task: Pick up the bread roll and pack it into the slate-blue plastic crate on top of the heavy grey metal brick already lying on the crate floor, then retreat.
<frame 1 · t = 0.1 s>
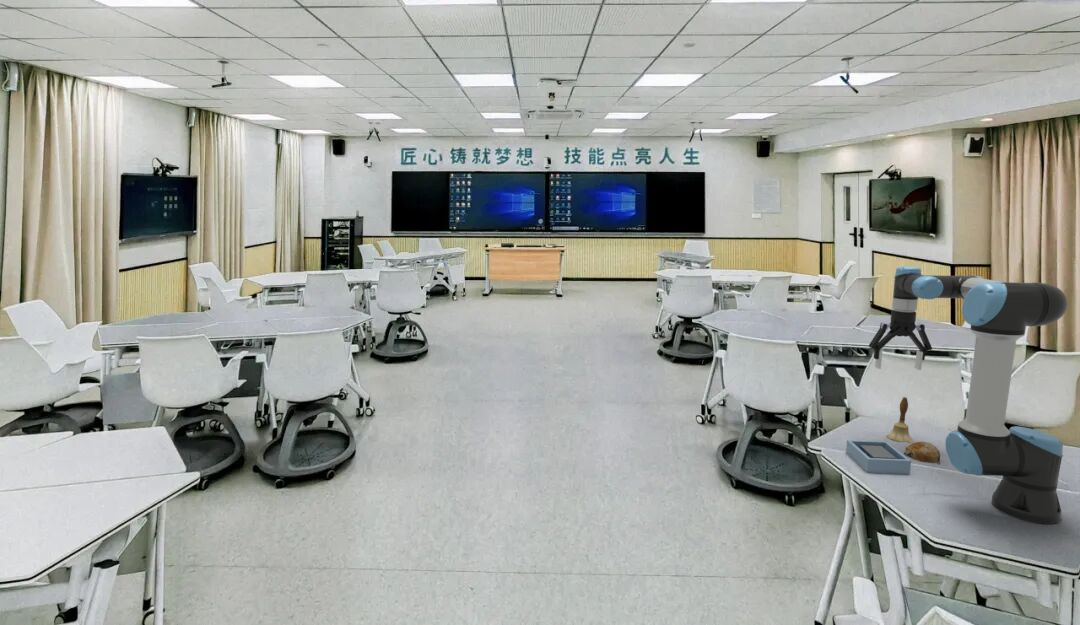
hand: (897, 368, 209), 28 cm above the table, tool pointing down, fingers open, 13 cm apart
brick: (876, 462, 193), point 1 cm above the table, touching crate
crate: (876, 465, 194), on the table
hand bell: (899, 439, 217), on the table
bread roll: (921, 460, 199), on the table
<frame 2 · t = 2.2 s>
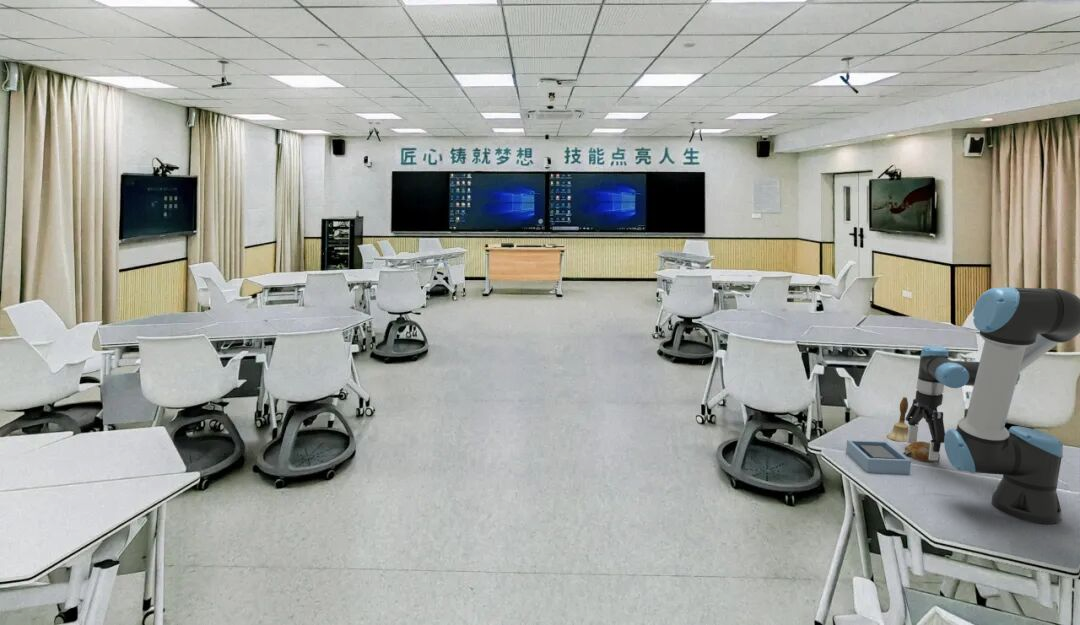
hand: (922, 451, 199), 3 cm above the table, tool pointing down, fingers open, 13 cm apart
nothing on the table moved.
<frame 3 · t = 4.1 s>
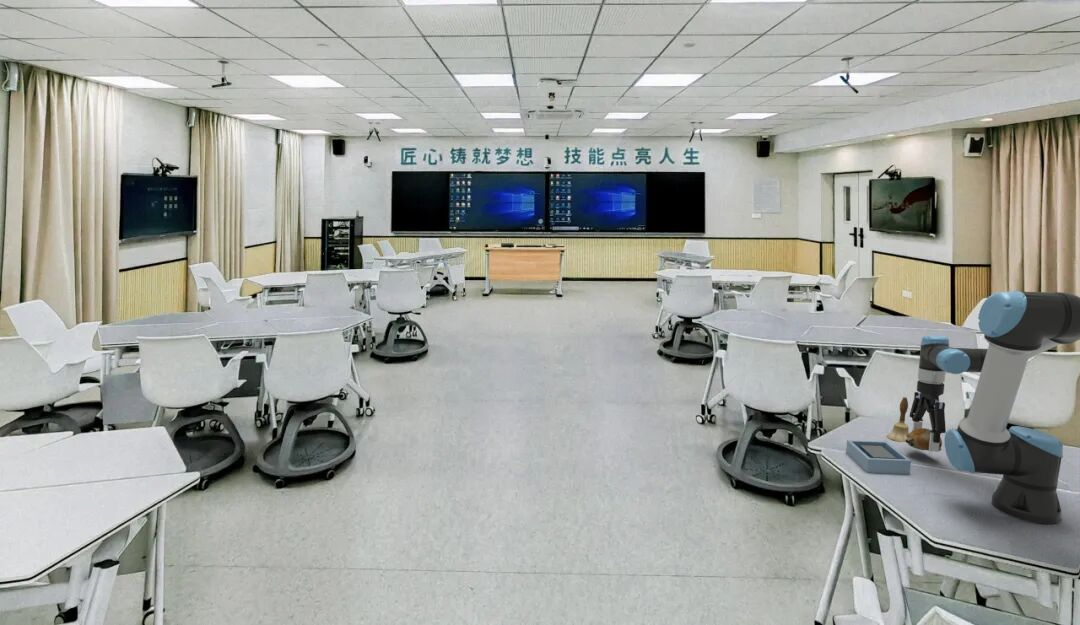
hand: (924, 445, 197), 5 cm above the table, tool pointing down, fingers closed on bread roll, 10 cm apart
bread roll: (923, 447, 197), point 5 cm above the table, touching gripper
everything else where it was.
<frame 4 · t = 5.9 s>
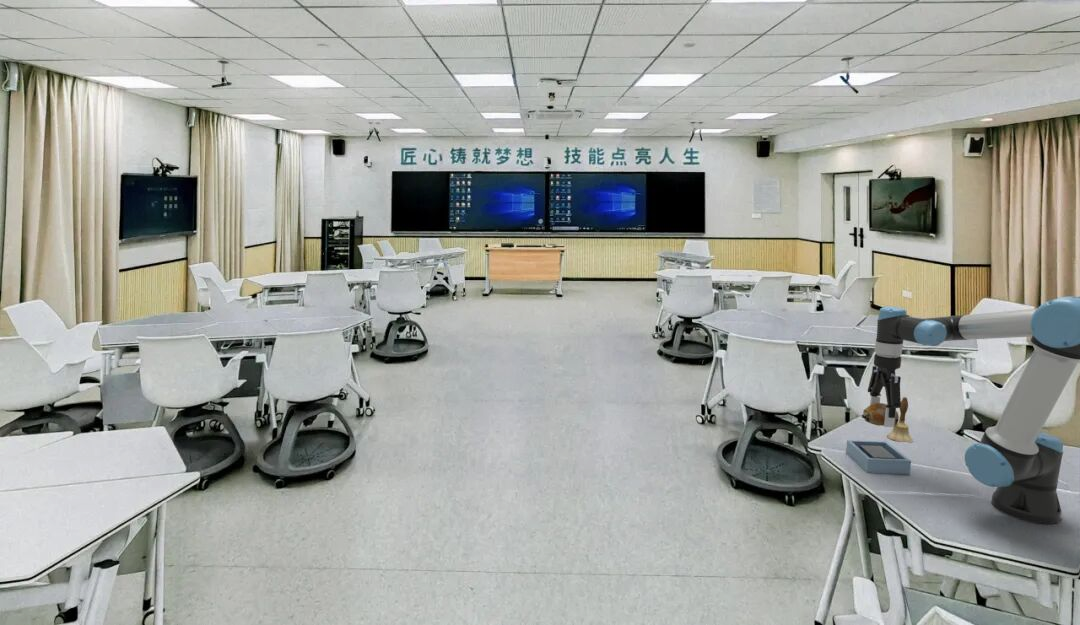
hand: (881, 420, 191), 16 cm above the table, tool pointing down, fingers closed on bread roll, 10 cm apart
bread roll: (879, 422, 191), point 15 cm above the table, touching gripper
everything else where it was.
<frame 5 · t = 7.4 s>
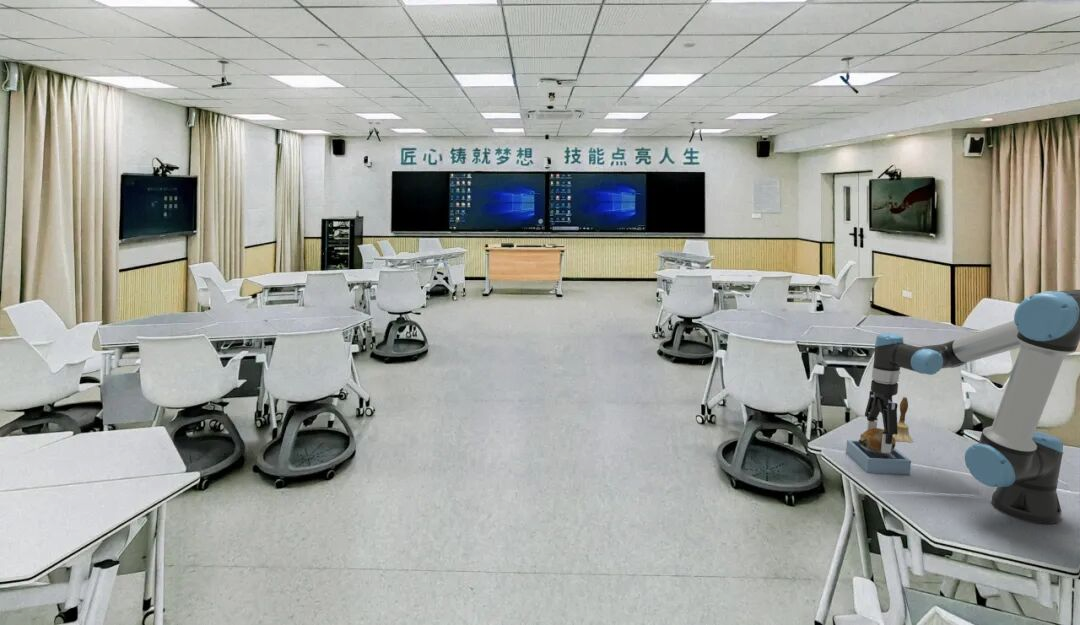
hand: (878, 445, 192), 7 cm above the table, tool pointing down, fingers closed on bread roll, 10 cm apart
bread roll: (876, 447, 193), point 6 cm above the table, touching gripper
everything else where it was.
when the fingers open (6 cm above the table, at t = 8.1 s): bread roll stays where it is, resting on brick.
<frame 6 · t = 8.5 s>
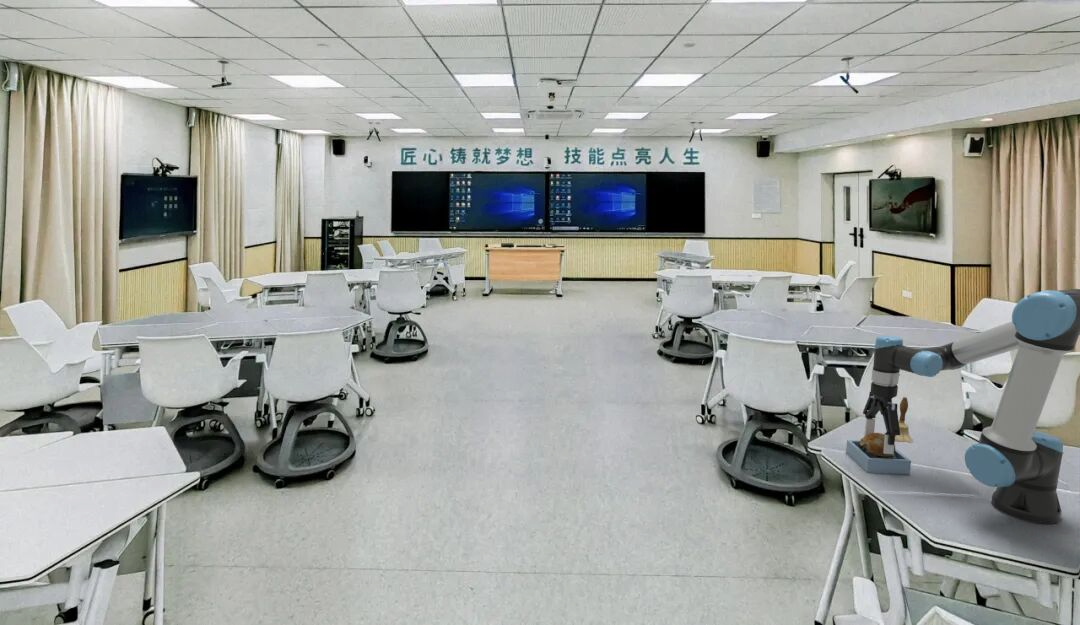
hand: (878, 445, 192), 7 cm above the table, tool pointing down, fingers open, 13 cm apart
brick: (876, 462, 193), point 1 cm above the table, touching bread roll, crate
bread roll: (876, 452, 193), point 5 cm above the table, touching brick
everything else where it was.
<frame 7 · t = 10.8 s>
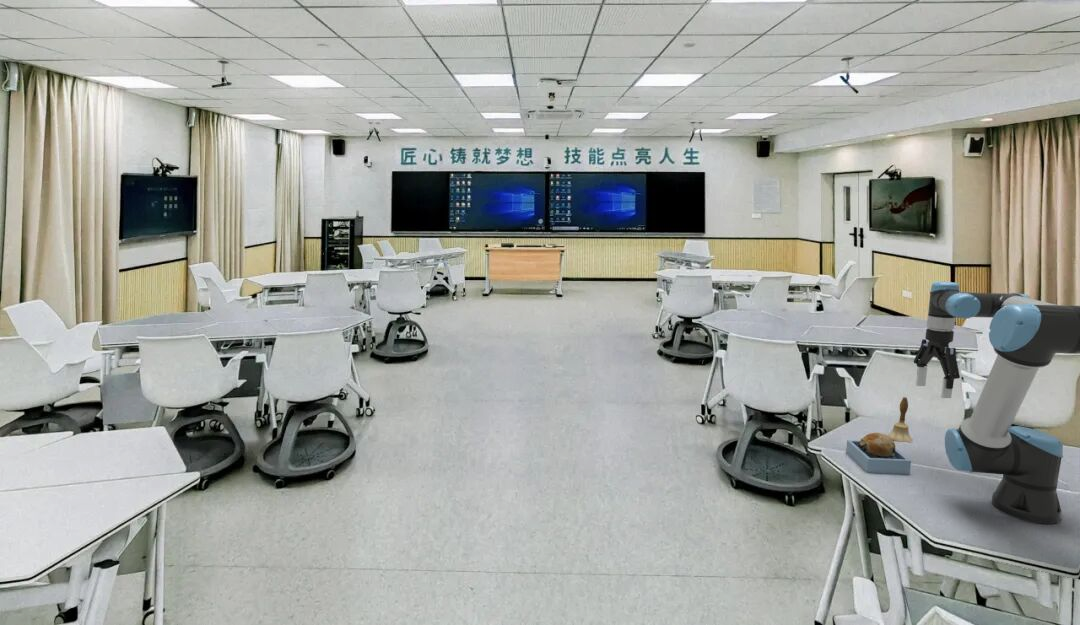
hand: (932, 391, 194), 24 cm above the table, tool pointing down, fingers open, 13 cm apart
nothing on the table moved.
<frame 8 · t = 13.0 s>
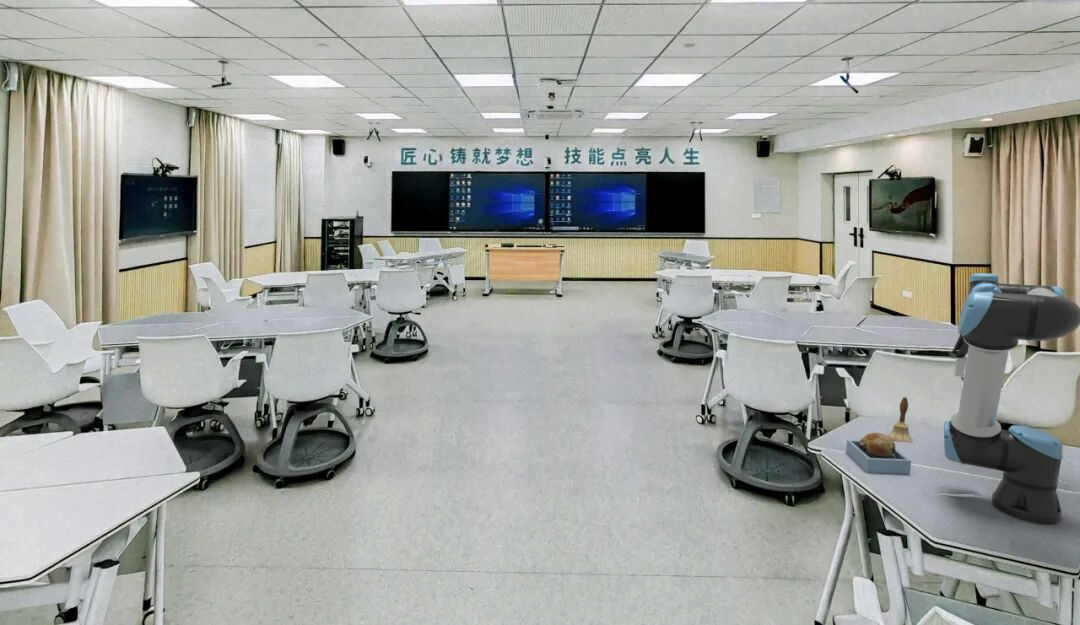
hand: (970, 381, 197), 27 cm above the table, tool pointing down, fingers open, 13 cm apart
nothing on the table moved.
at the end: bread roll inside the target area on the crate (0.3 cm from its centre), point 4.8 cm above the crate's base; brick moved 0.0 cm from its start; the gripper is holding nothing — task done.
